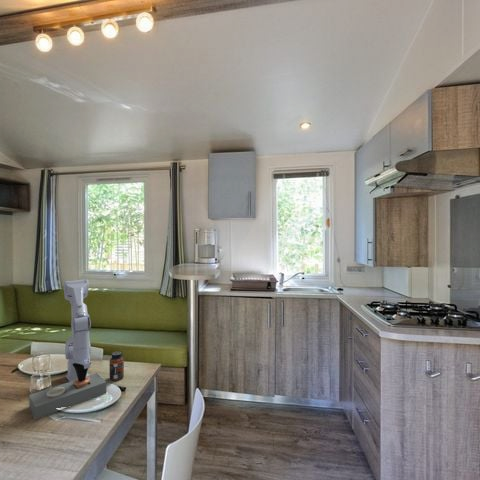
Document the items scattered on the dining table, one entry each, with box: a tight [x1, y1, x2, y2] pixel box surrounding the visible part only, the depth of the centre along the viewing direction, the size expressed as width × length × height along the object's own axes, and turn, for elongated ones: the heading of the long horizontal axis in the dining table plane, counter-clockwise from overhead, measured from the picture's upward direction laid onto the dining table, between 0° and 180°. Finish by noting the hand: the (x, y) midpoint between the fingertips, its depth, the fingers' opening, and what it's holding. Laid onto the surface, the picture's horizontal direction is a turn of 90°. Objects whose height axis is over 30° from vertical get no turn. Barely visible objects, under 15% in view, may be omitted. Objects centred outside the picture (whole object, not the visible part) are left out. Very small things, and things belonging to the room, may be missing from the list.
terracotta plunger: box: [73, 377, 90, 389], centre depth 116 cm, size 6×6×4 cm
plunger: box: [46, 387, 65, 398], centre depth 110 cm, size 6×6×4 cm
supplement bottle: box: [109, 351, 125, 382], centre depth 130 cm, size 6×6×11 cm
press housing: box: [28, 372, 107, 421], centre depth 113 cm, size 24×11×4 cm, turn 135°
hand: (81, 380), depth 116 cm, fingers closed, pressing on terracotta plunger
